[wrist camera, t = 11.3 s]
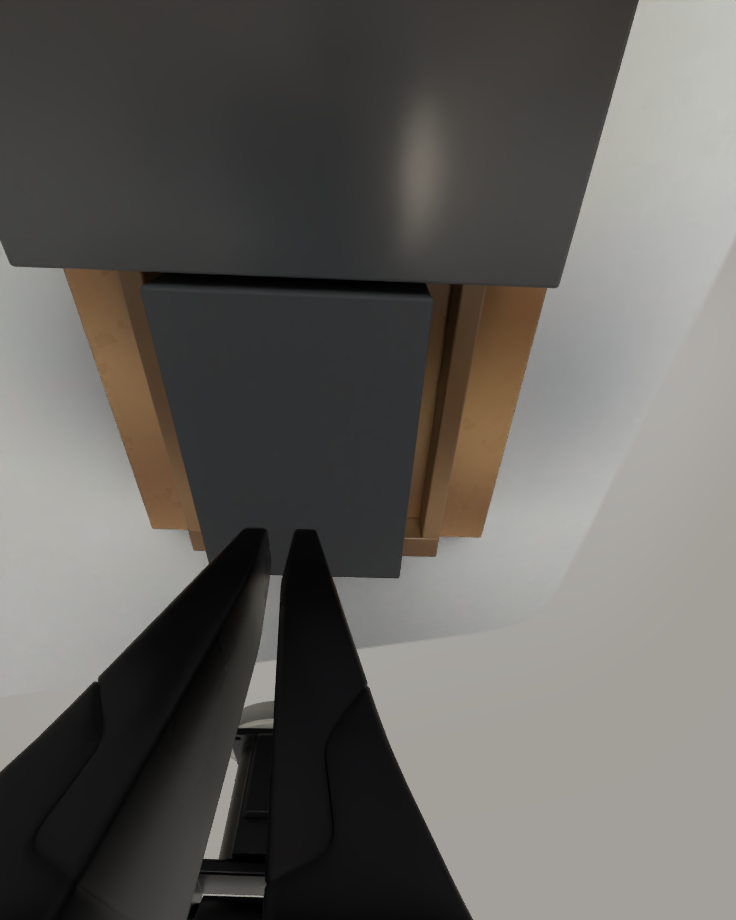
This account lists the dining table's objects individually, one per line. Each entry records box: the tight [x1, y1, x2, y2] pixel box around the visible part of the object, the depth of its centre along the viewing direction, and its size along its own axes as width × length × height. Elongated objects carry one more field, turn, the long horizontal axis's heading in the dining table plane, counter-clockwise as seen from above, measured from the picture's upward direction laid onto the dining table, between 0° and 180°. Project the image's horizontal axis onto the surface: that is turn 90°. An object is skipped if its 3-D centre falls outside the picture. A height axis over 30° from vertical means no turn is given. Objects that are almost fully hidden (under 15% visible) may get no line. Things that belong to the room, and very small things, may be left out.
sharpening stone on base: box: [0, 0, 639, 557], centre depth 10 cm, size 18×12×4 cm, turn 178°
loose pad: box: [140, 273, 434, 578], centre depth 12 cm, size 8×6×3 cm
